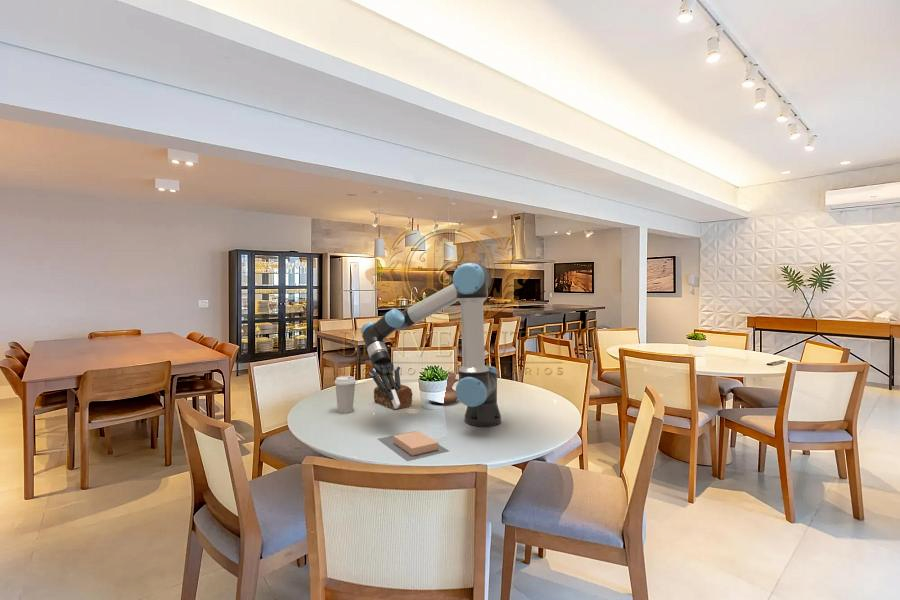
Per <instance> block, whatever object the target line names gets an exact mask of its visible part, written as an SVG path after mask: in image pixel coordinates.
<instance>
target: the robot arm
mask: <svg viewBox="0 0 900 600" xmlns="http://www.w3.org/2000/svg"><path fill="white" fill-rule="evenodd" d="M492 279H493V278H492V273H491V271H490V270H489V269H488V268H487V267H486V266H485V265H482V264H478V263H476V262H466V263H463V264H460V265H459V266H458V267H457V268H456V269H455V270H454V273H453V275H452V283H451V284H450V285H448V286H446V287H444V288H442V289H440V290H439V291H436V292H435V293H433V294H431V295H430V296H427V297H426V298H424V299H423V300H420V301H418V302H417V303H415V304H413V305H411V306H410V307H408V308H406V309H404V310H402V311H400V310H399V309H397V308H392V309H391V310H390V309H389V311H387V312H385V314H384V315H383V316H382V317H381V318H380V319H378V320H377V321H376V322H375V321H368V322H367V323H364V324H363V325H362V327H361V329H360V331H361V337H362V339H363V342H364V344H365V347H366V350H367V354H368V357H369V359H370V362H371V365H372V366H371V367H372V369H369V372H368V375H369V376H370V378H372V379H373V381H374V383H375V384H376V387H377V386H378V387H379V389H380V391H381V392H382V393H384V392H386V393H385V394H386V395H388V398H389V400H392V403H393V406H394V409H393V410H396V409H395V408H398V407H399V406H400V402H399V399H398V398H399V394H398V390H399V389H400V387H401V385H402V384H401V376H400V370H401V366H397V367H396V366H395V365H394V364H393V363H392V360H391V356H390V353H389V351H388V348H387V347H386V346H387V345H386V344H385V341H384V340H385V339H386V338H387V337H388V336H390V335H392V334H393V333H394V332H397V331H402V330H408V329H410V328H412V327H413V326H414V325H415V324H417V323H419V322H421V321H423V320H424V319H425V320H426V319H427V318H428V317H431V316H432V315H435V314H436V313H438V312H440V311H443V310H444V309H446V308H448V307H450V306H451V305H454V304H455V303H457V302H459V303H460V320H461V321H460V322H461V323H460V324H461V325H460V326H461V356H462V357H461V359H462V362H461V366H460V367H459V368H458V379H459V381H457V382H456V386H455V391H456V395H457V398H458V399H457V400H458V401H459V402H460V403H461V404H462V405H465V406H466V411H465V414H464V422H465V424H467V425H470V426H475V427H482V428H483V427H484V428H485V427H495V426H498V425H500V424H501V422H502V414H501V412H500V409H499V406H498V369H497V368H496V366H490V365H489V366H488V365H485V363H486V360H485V357H486V356H485V325H484V324H485V323H484V320H485V318H484V302H485V301H486V300H487V299H488V290H489V288H490V286H491V284H492ZM393 373H394V375H393ZM389 384H390V385H389ZM390 387H391V388H390Z"/></svg>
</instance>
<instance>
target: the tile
mask: <svg viewBox="0 0 900 600" xmlns="http://www.w3.org/2000/svg"><path fill="white" fill-rule="evenodd" d="M415 431H416V430H415ZM410 432H411V433H409V432H404V433H405V434H404V433H400V435H399V434H395V436H394V435H392V436H393V443H395V444H396V445H398V446H399V447H400V448H402V449H403V450H405V451H406V452H408V453H409V454H410V455H412V456H413V455H417V454H421V453H426V452H430V451H434V450H438V444H439V441H437V440H435V439H433V438H432V437H430V436H428V435H426V434H424V433H423V432H421V431H419V430H417V431H416V432H414V431H410Z"/></svg>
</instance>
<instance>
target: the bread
mask: <svg viewBox="0 0 900 600" xmlns="http://www.w3.org/2000/svg"><path fill="white" fill-rule="evenodd" d="M389 385H390V384H389ZM390 388H391V387H390ZM385 393H386V392H384V393H382V392H381V391H380V389H379V387H378V386H377V385H376V386H375V387H374V389H373V400H374V402H375V403H376V402H377V403H376V404H378V403H379V404H378V405H381V406H383V405H384V407H386V406H387V408H389V409H393V410H399V409H406V408H409V407H411V406H412V402H413V391H412V388H410V387H409V386H407V385H404V384H401V387H400V389H399V390H398V394H399V398H398V399H399V402H400V406H399V407H398V408H395V409H394V406H393V403H392V400H389V398H388V395H386V394H385Z"/></svg>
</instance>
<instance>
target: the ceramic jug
mask: <svg viewBox="0 0 900 600" xmlns="http://www.w3.org/2000/svg"><path fill="white" fill-rule="evenodd" d="M446 371H447V372H448V373H449V376H448V379H447V387H446V392H445V397H444V405H448V404H451V403H453V402H456V401H457V400H459V399H458V398H457V395H456V389H453V386H454V385H455V383H458V382H459V378H457V372H455V371H450V370H446Z"/></svg>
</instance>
